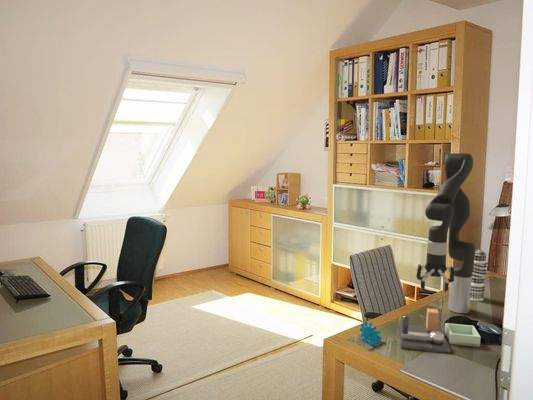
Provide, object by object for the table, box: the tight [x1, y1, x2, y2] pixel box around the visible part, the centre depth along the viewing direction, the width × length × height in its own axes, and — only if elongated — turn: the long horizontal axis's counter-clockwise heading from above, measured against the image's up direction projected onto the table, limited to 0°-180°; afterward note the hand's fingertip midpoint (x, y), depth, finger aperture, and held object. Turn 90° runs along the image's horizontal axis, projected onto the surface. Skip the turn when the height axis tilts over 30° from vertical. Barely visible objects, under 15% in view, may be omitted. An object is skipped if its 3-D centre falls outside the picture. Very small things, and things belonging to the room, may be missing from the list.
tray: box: [444, 322, 481, 347], centre depth 177 cm, size 11×11×4 cm
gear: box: [358, 321, 382, 347], centre depth 174 cm, size 11×6×10 cm
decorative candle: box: [470, 249, 488, 302], centre depth 225 cm, size 9×9×25 cm
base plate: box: [395, 323, 452, 354], centre depth 177 cm, size 20×18×2 cm
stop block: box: [425, 307, 440, 331], centre depth 183 cm, size 4×4×8 cm
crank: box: [402, 314, 445, 344], centre depth 172 cm, size 16×5×9 cm, turn 78°
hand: (434, 290), depth 181 cm, fingers open, 8 cm apart
